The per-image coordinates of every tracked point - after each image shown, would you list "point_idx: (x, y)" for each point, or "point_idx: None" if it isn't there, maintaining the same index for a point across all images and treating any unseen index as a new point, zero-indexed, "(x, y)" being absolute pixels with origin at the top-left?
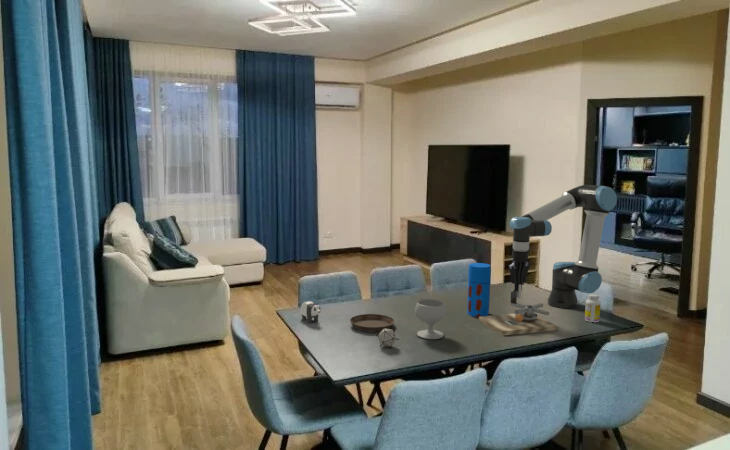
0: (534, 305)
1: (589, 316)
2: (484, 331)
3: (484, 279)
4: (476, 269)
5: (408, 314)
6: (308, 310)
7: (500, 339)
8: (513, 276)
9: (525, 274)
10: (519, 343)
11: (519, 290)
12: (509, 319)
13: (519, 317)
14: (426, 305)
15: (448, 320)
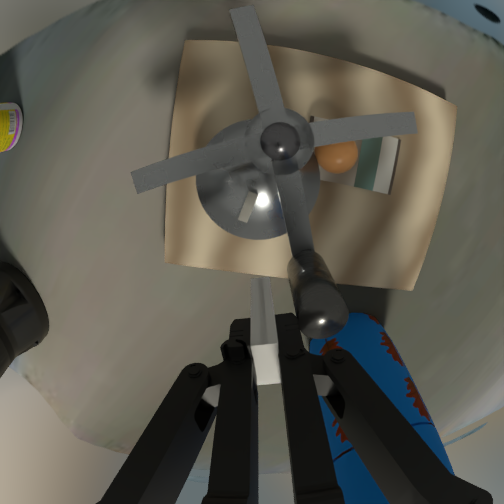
0: (215, 158)
1: (8, 112)
2: (466, 177)
3: None
4: None
5: (471, 369)
6: None
7: (468, 88)
8: (395, 419)
9: (172, 440)
10: (437, 26)
11: (270, 310)
12: (338, 208)
13: None
14: None
15: (460, 313)
